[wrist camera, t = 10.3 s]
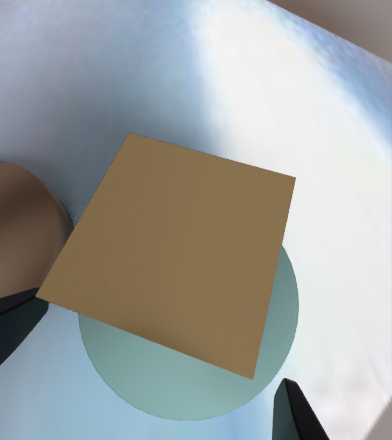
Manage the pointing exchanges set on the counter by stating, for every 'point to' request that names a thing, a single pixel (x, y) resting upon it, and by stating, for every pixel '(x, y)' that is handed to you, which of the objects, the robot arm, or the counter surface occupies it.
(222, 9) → the counter surface
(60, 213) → the stand
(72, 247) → the block
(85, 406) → the counter surface
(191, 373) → the stand
